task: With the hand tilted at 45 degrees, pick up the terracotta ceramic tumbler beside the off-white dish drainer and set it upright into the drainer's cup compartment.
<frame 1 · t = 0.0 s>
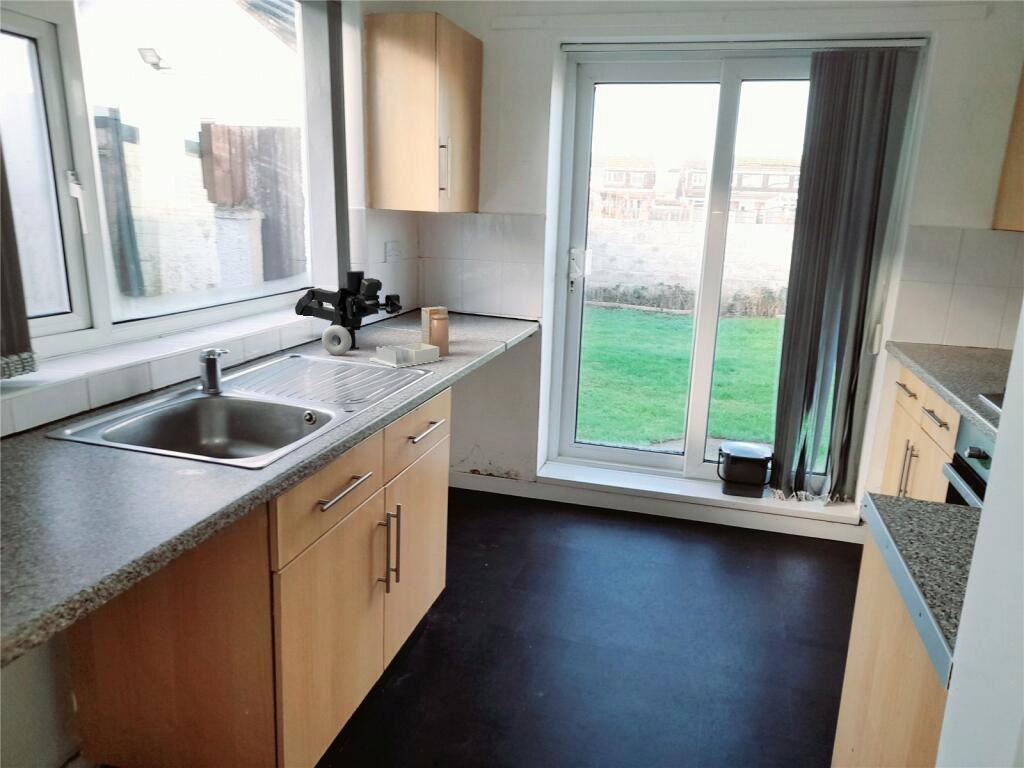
hand: (389, 309, 222), 17 cm above the worktop, tool horizontal, fingers open, 9 cm apart
donut: (337, 355, 233), on the worktop
tumbler: (440, 354, 237), on the worktop
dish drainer: (406, 360, 227), on the worktop
supplement box: (434, 344, 254), on the worktop
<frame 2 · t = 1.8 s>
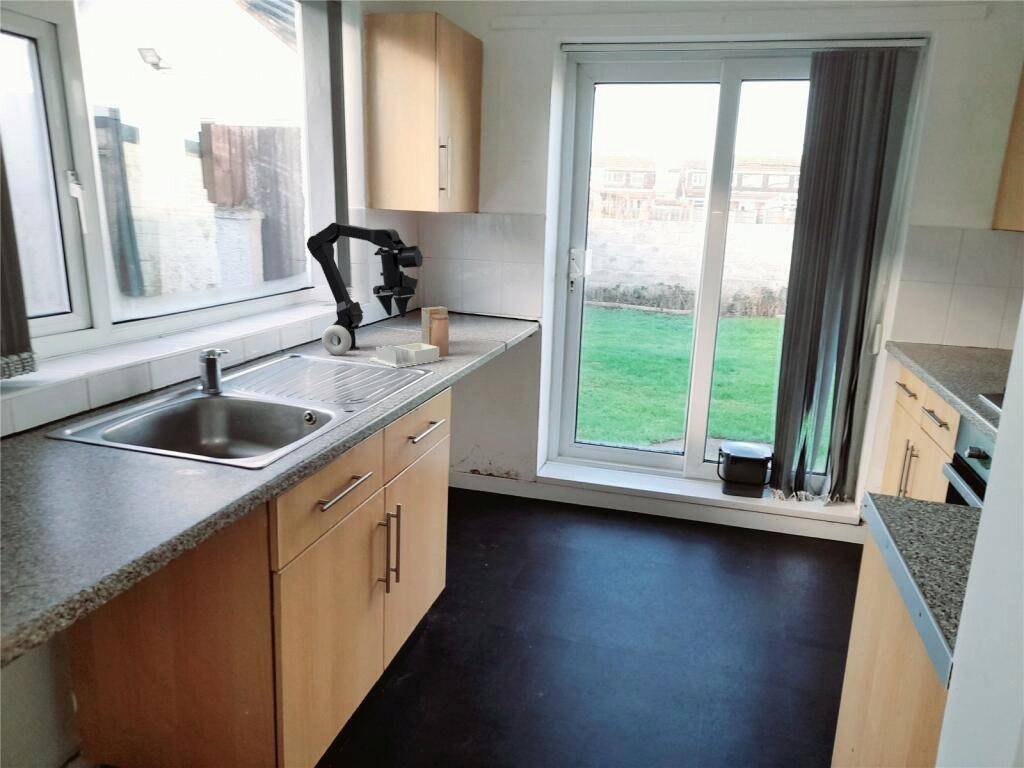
hand: (396, 316, 235), 12 cm above the worktop, tool pointing down, fingers open, 9 cm apart
nothing on the worktop moved.
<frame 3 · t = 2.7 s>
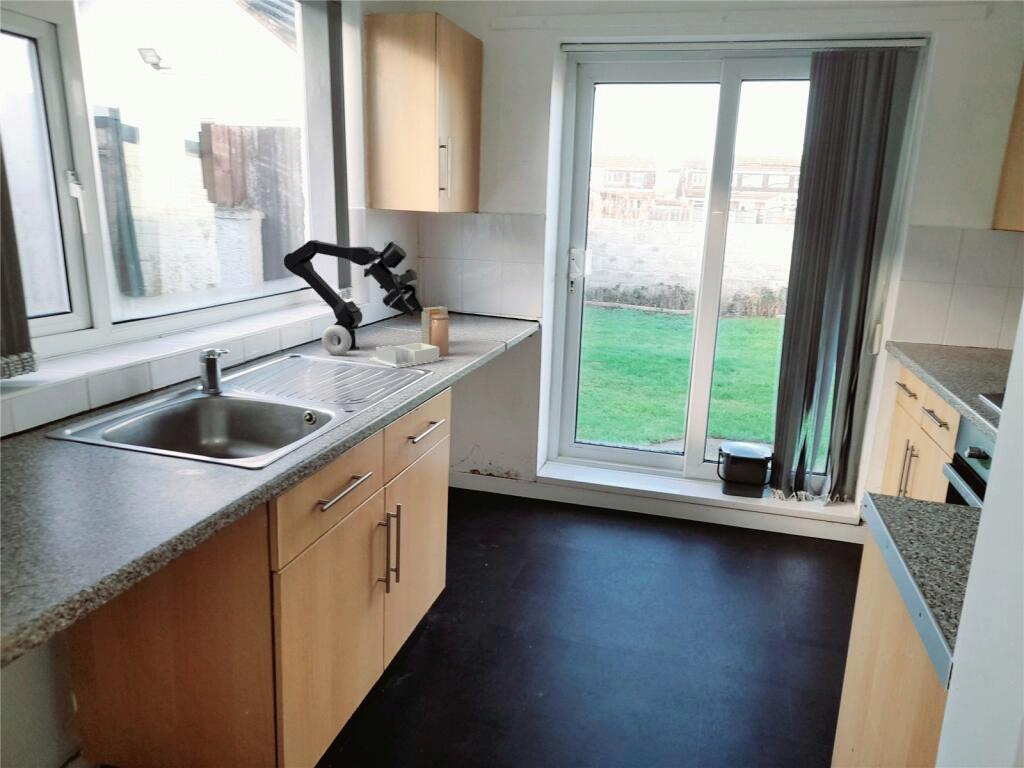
hand: (418, 313, 235), 13 cm above the worktop, tool tilted 45°, fingers open, 9 cm apart
nothing on the worktop moved.
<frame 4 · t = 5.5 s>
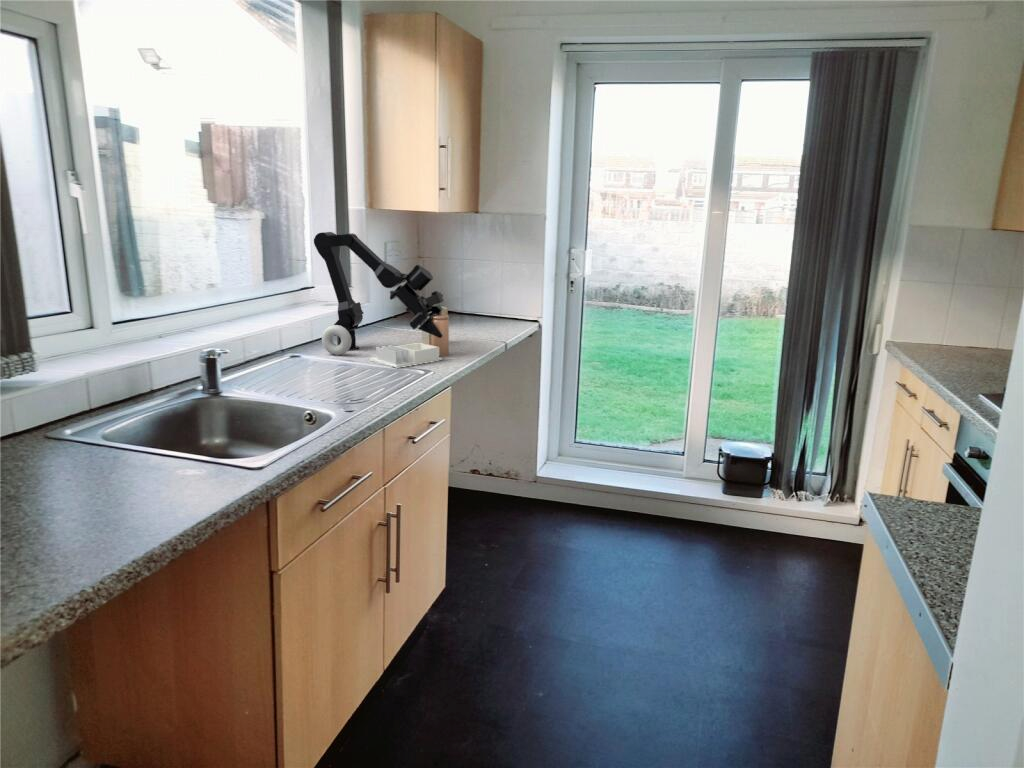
hand: (444, 335, 235), 7 cm above the worktop, tool tilted 45°, fingers closed on tumbler, 6 cm apart
tumbler: (440, 354, 237), on the worktop, touching gripper
everything else where it was.
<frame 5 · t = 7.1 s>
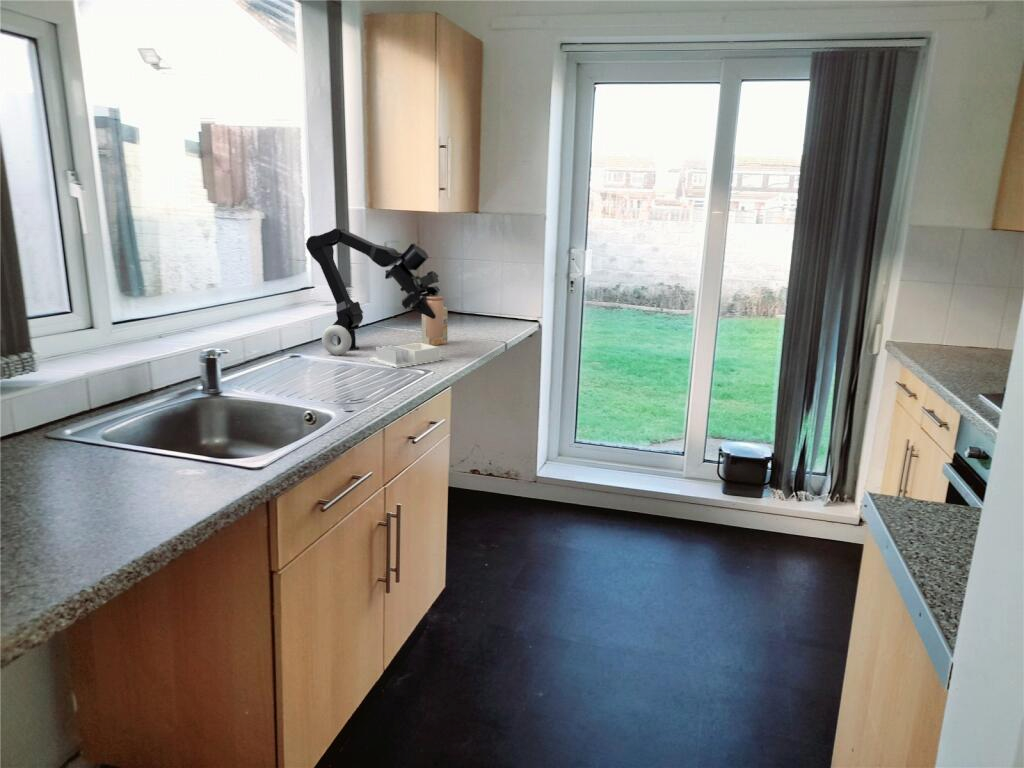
hand: (438, 316, 230), 13 cm above the worktop, tool tilted 45°, fingers closed on tumbler, 6 cm apart
tumbler: (434, 336, 233), point 7 cm above the worktop, touching gripper
everything else where it was.
when the fingers open (9 cm above the worktop, at t = 9.1 s): tumbler drops 1 cm, resting on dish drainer.
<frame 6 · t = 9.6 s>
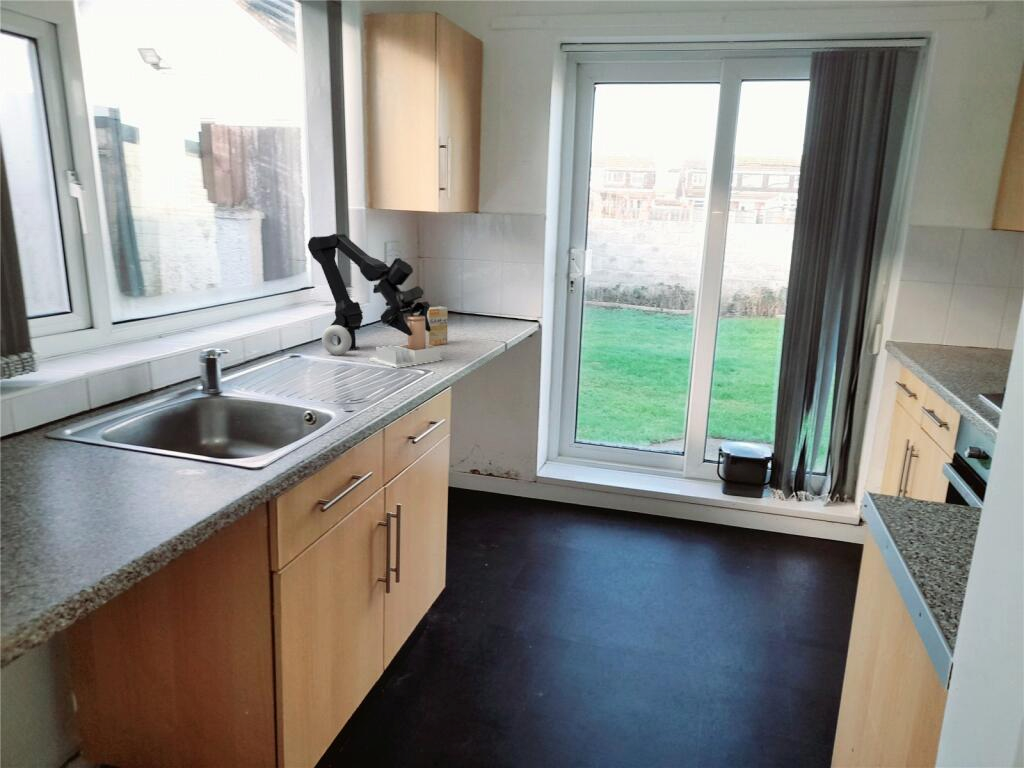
hand: (420, 333, 225), 9 cm above the worktop, tool tilted 45°, fingers open, 9 cm apart
tumbler: (417, 357, 228), point 1 cm above the worktop, touching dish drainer
everything else where it was.
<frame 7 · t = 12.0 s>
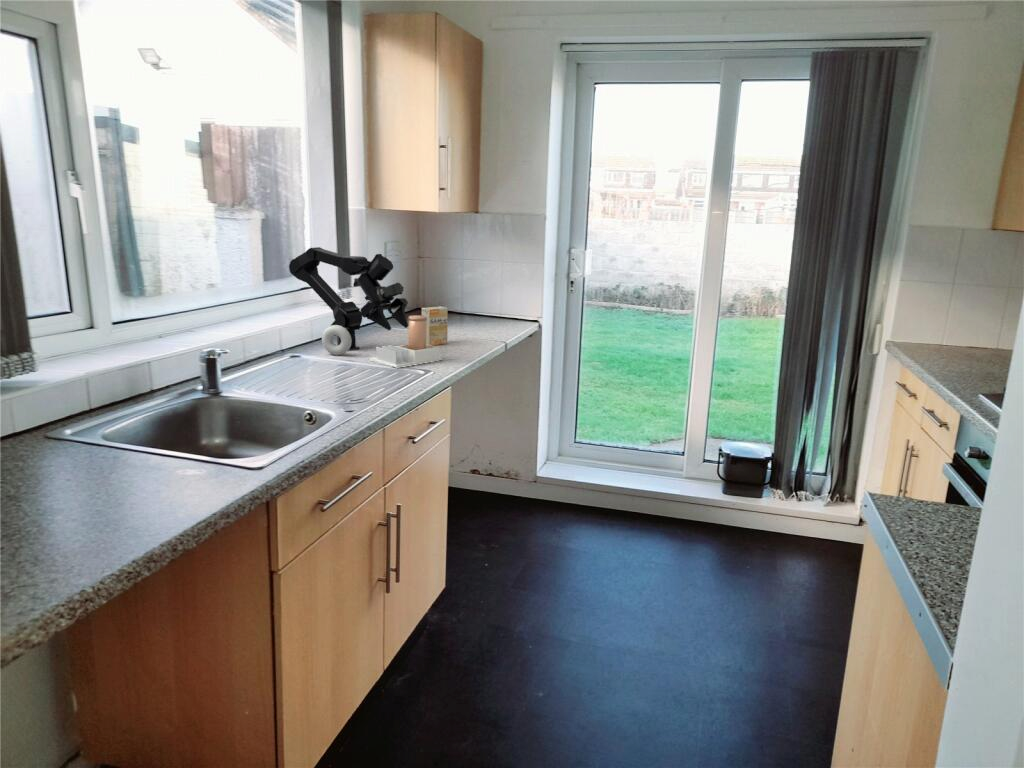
hand: (398, 328, 230), 9 cm above the worktop, tool tilted 40°, fingers open, 9 cm apart
nothing on the worktop moved.
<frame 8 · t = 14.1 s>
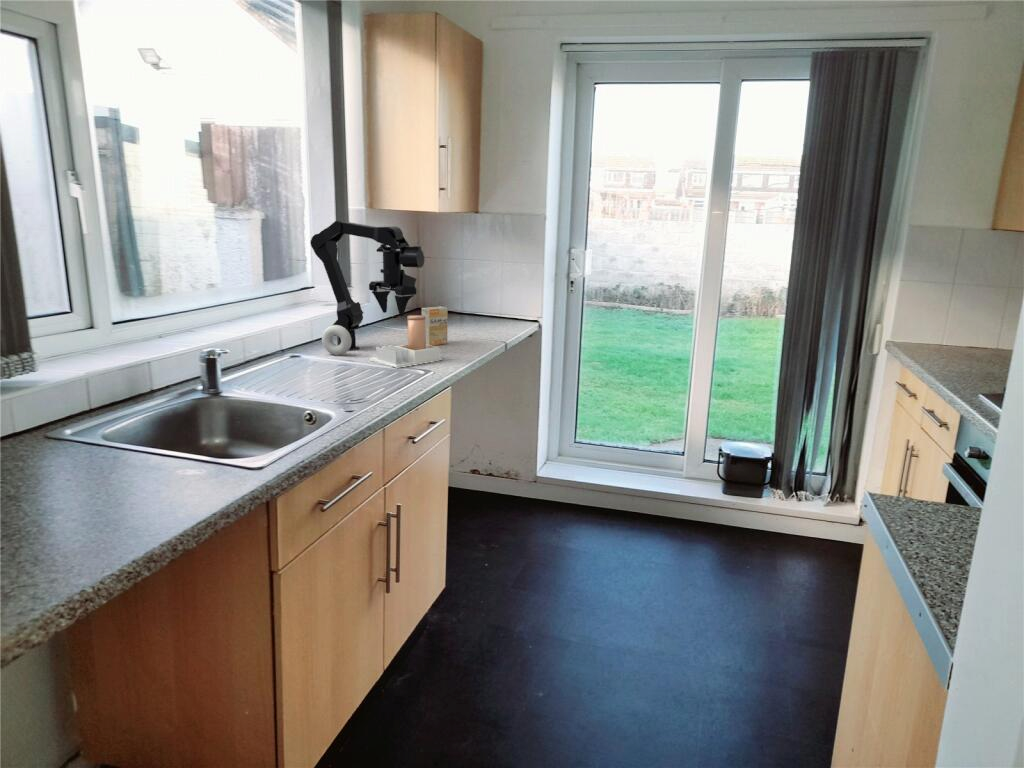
hand: (393, 314, 235), 13 cm above the worktop, tool pointing down, fingers open, 9 cm apart
nothing on the worktop moved.
at the end: tumbler 0.1 cm from the target spot on the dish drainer, point 1.1 cm above the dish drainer's base; tumbler tilted 2°; the gripper is holding nothing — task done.
